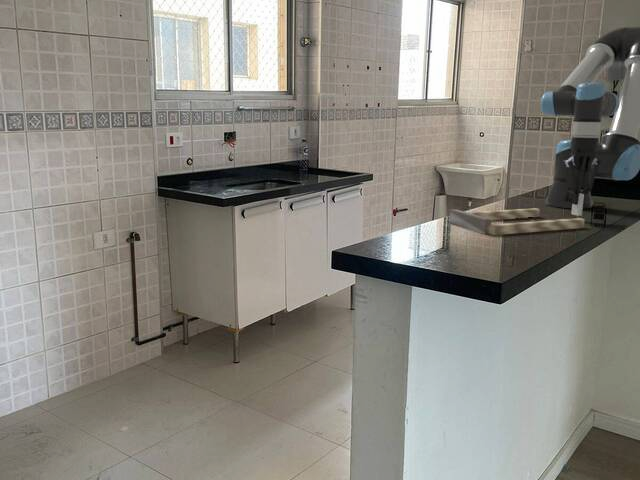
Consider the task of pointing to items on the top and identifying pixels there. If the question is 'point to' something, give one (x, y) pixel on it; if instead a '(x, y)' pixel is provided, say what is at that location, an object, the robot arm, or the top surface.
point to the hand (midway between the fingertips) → (576, 214)
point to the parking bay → (483, 223)
